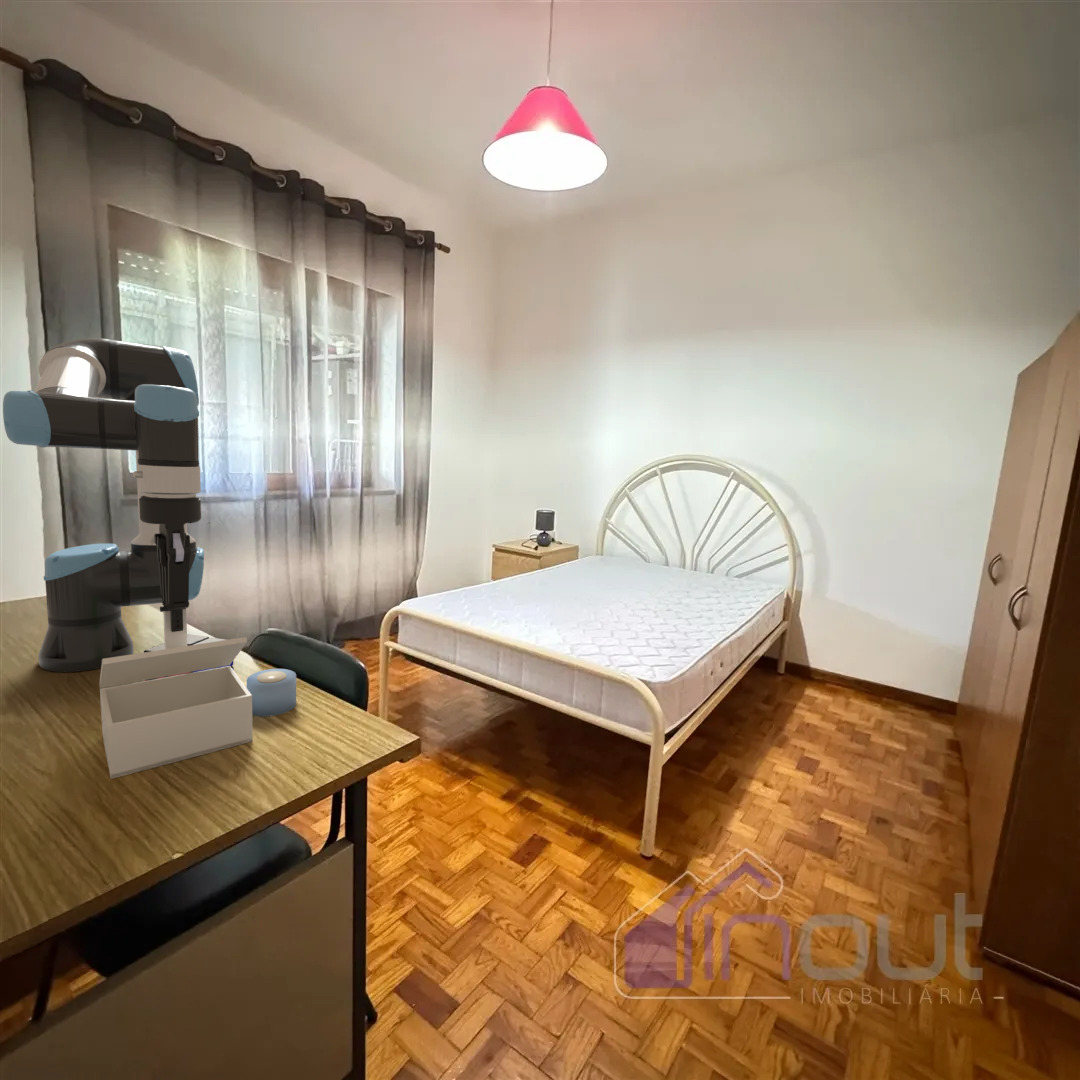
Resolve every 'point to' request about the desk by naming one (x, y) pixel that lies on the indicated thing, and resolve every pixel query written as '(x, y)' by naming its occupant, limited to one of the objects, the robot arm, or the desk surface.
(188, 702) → the carton
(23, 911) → the desk surface
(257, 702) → the blue domed cylinder
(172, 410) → the robot arm
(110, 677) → the hinged white flap
